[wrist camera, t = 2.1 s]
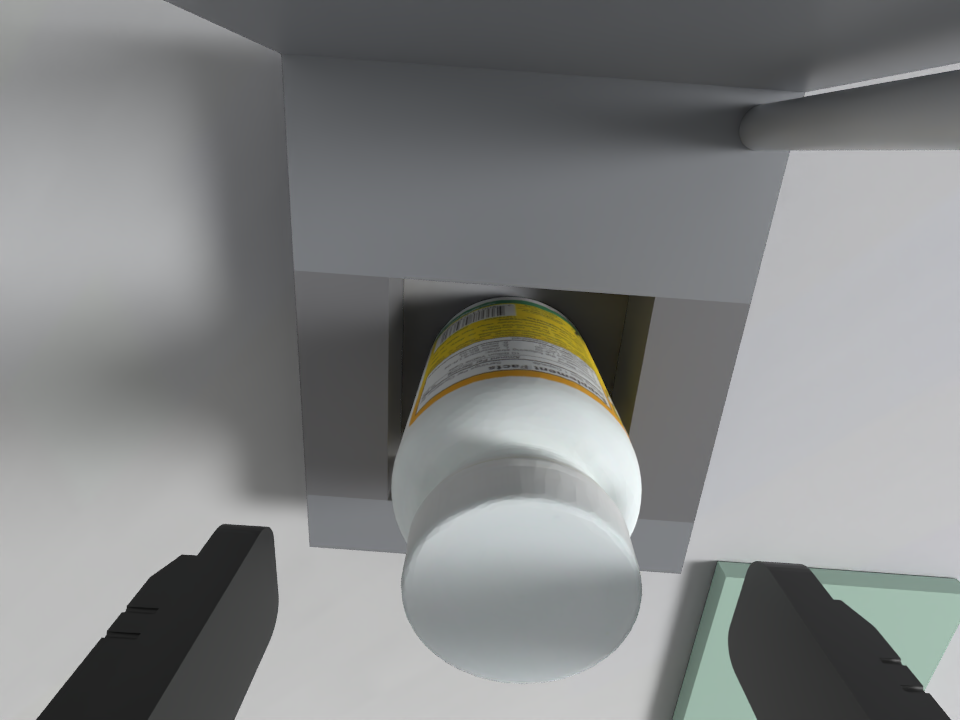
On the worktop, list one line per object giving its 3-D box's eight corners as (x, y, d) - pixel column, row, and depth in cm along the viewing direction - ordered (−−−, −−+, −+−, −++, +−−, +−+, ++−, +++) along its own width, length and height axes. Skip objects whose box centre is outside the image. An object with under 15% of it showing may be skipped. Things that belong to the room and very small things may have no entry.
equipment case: (313, 35, 14) (-973, -789, 2) (763, 68, 14) (2672, -524, 2) (331, 499, 20) (43, 1115, 7) (658, 523, 20) (947, 1181, 7)
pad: (717, 561, 20) (726, 577, 20) (956, 578, 20) (974, 595, 20) (670, 725, 24) (676, 744, 23) (876, 740, 24) (888, 759, 23)
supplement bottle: (464, 266, 17) (428, 402, 8) (619, 332, 17) (756, 530, 8) (404, 411, 18) (317, 657, 9) (546, 465, 19) (593, 746, 10)
